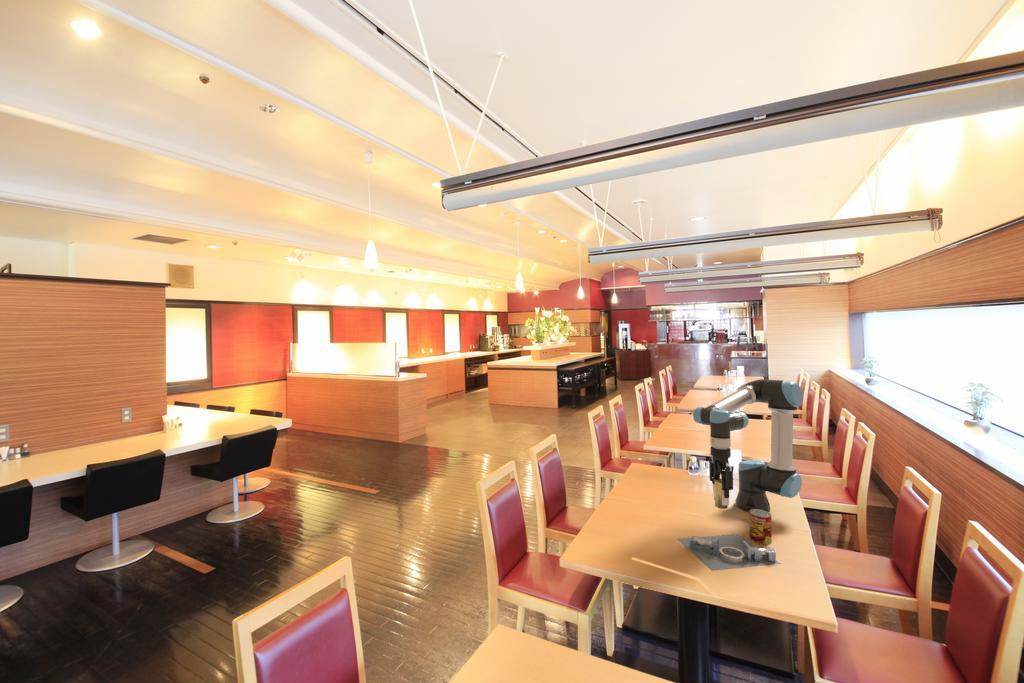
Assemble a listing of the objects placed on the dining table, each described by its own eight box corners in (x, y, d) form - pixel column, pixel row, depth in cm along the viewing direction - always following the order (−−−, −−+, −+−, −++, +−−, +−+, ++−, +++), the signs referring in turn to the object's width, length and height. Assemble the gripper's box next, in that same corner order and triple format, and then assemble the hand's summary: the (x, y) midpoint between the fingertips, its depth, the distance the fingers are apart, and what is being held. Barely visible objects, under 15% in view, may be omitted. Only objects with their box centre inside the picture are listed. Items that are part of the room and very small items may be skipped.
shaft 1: (719, 551, 165) (719, 537, 165) (716, 556, 161) (716, 542, 161) (692, 543, 171) (692, 530, 171) (689, 548, 167) (689, 535, 167)
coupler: (722, 503, 176) (722, 478, 176) (730, 508, 172) (729, 481, 171) (712, 504, 176) (712, 478, 176) (719, 509, 171) (719, 482, 171)
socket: (734, 550, 165) (734, 545, 165) (749, 562, 156) (749, 556, 156) (715, 552, 164) (715, 547, 164) (729, 564, 155) (728, 558, 155)
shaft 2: (748, 561, 157) (748, 547, 157) (742, 554, 162) (742, 541, 162) (776, 562, 156) (776, 548, 156) (770, 556, 160) (770, 542, 160)
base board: (738, 535, 179) (737, 533, 179) (781, 565, 155) (781, 563, 155) (677, 541, 175) (677, 539, 175) (711, 572, 151) (711, 570, 151)
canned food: (745, 539, 176) (745, 511, 176) (758, 535, 179) (757, 507, 179) (763, 547, 168) (762, 518, 168) (776, 543, 172) (775, 514, 171)
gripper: (699, 442, 182) (700, 495, 182) (725, 453, 164) (726, 511, 164) (715, 441, 183) (716, 493, 183) (743, 452, 165) (744, 510, 165)
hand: (721, 502), depth 174 cm, fingers closed on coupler, 5 cm apart
